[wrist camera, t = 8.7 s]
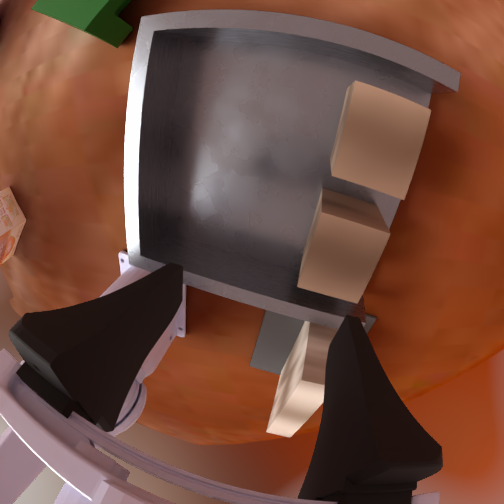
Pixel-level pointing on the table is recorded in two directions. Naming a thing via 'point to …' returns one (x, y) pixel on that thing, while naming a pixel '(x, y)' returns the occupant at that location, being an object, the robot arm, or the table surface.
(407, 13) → the table surface
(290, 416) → the birch block
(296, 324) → the rubber pad
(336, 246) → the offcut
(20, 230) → the coffeecake box
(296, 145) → the tray
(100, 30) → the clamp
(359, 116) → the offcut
